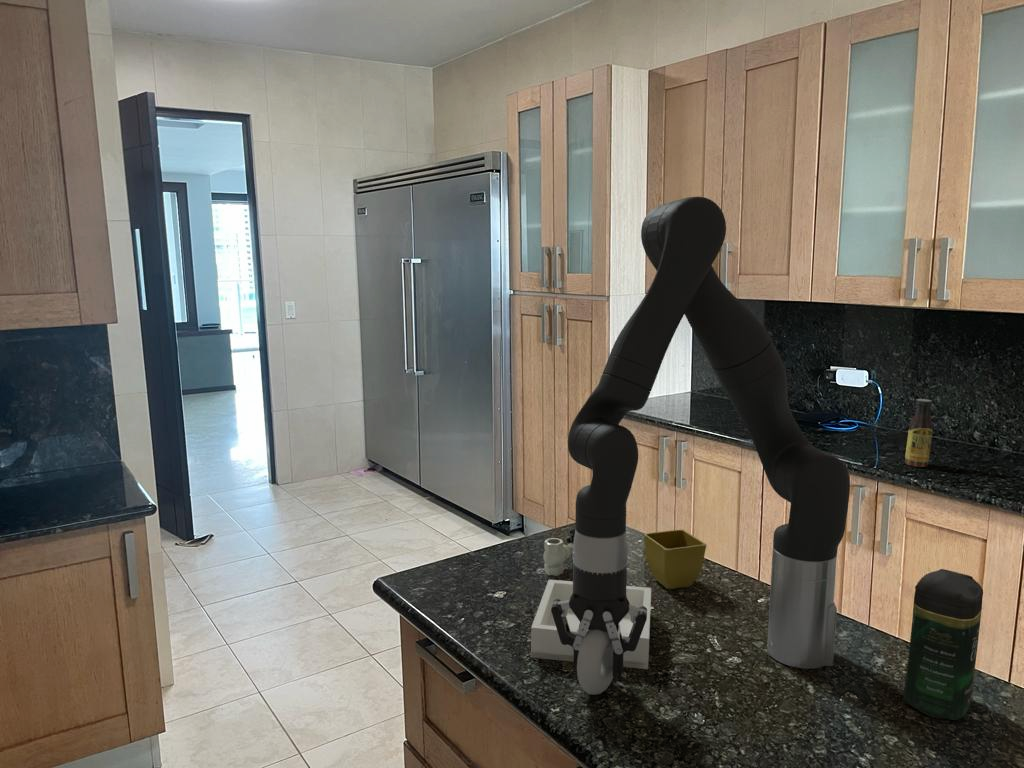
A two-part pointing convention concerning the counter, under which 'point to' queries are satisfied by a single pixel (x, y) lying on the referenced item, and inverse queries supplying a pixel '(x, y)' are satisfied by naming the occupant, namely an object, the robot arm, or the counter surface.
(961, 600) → the coffee jar
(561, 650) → the tray
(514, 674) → the counter surface
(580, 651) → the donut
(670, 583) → the flower pot
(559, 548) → the valve
